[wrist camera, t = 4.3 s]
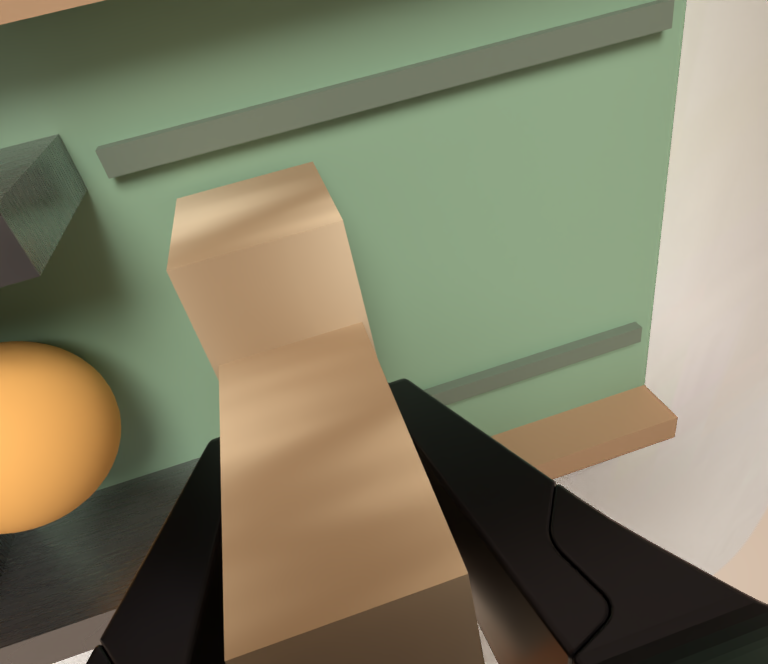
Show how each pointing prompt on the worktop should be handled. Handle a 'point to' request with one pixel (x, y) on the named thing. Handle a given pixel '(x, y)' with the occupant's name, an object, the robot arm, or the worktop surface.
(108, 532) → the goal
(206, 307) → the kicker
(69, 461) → the ball
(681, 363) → the worktop surface
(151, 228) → the pitch
